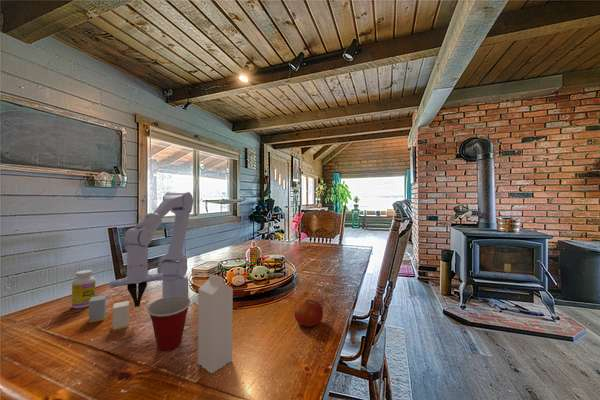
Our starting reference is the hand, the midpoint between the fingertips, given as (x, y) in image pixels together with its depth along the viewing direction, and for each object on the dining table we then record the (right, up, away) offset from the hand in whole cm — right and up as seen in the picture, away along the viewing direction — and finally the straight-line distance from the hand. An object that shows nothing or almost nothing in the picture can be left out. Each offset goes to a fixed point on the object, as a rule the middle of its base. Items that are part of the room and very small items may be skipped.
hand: (137, 305), depth 80 cm
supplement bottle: (-29, -6, +12) cm, 32 cm away
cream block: (-4, -6, -2) cm, 7 cm away
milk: (+33, -6, -19) cm, 38 cm away
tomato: (+57, -7, 0) cm, 57 cm away
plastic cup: (+17, -6, -12) cm, 22 cm away
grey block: (-15, -6, +2) cm, 16 cm away
